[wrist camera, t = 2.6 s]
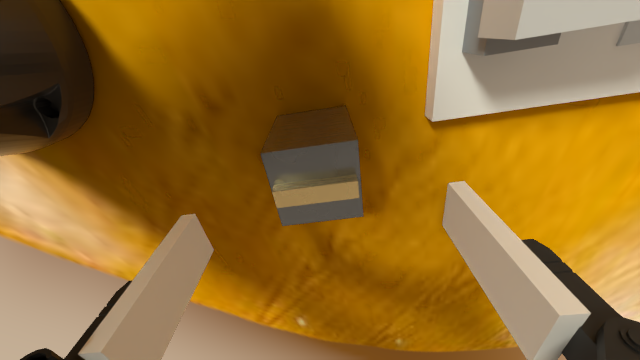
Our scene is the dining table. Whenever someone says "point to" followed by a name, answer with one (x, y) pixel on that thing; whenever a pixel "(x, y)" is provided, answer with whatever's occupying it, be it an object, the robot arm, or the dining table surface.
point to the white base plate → (529, 54)
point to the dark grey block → (314, 166)
